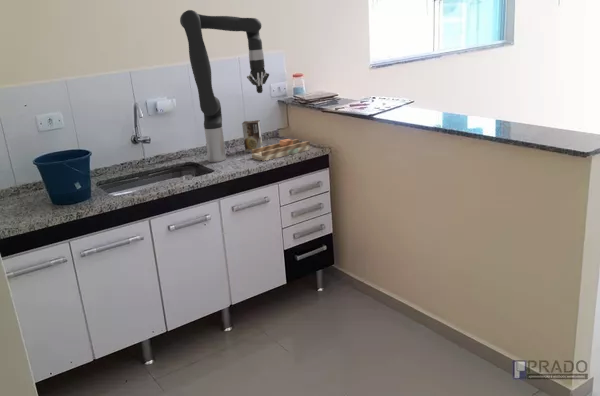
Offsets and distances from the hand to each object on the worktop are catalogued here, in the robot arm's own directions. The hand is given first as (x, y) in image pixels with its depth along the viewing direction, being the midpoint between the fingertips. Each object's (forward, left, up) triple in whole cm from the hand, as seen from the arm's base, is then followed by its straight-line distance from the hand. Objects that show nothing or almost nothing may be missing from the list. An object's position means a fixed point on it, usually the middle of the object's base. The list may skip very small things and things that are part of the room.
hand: (259, 92), depth 288 cm
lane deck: (+8, -7, -32) cm, 34 cm away
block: (+11, -5, -30) cm, 32 cm away
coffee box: (-6, +8, -32) cm, 34 cm away
